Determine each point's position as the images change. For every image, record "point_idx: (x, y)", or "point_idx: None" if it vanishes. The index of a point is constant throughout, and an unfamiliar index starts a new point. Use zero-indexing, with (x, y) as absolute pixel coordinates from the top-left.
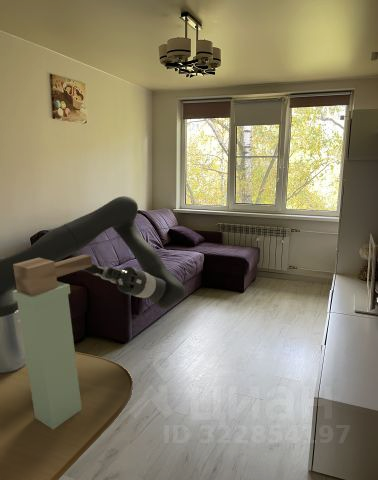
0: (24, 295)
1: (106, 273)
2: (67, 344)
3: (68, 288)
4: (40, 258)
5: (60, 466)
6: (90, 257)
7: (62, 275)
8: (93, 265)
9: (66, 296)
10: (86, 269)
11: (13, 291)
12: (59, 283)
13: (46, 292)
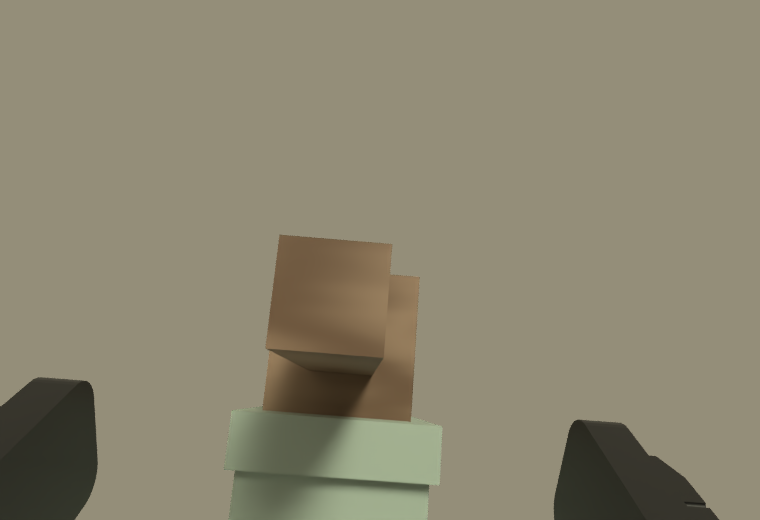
0: None
1: (93, 457)
2: None
3: (230, 432)
4: (395, 276)
5: None
6: (278, 253)
7: (303, 367)
8: (630, 513)
9: (236, 484)
10: (559, 511)
11: None
12: (308, 415)
13: (261, 407)
